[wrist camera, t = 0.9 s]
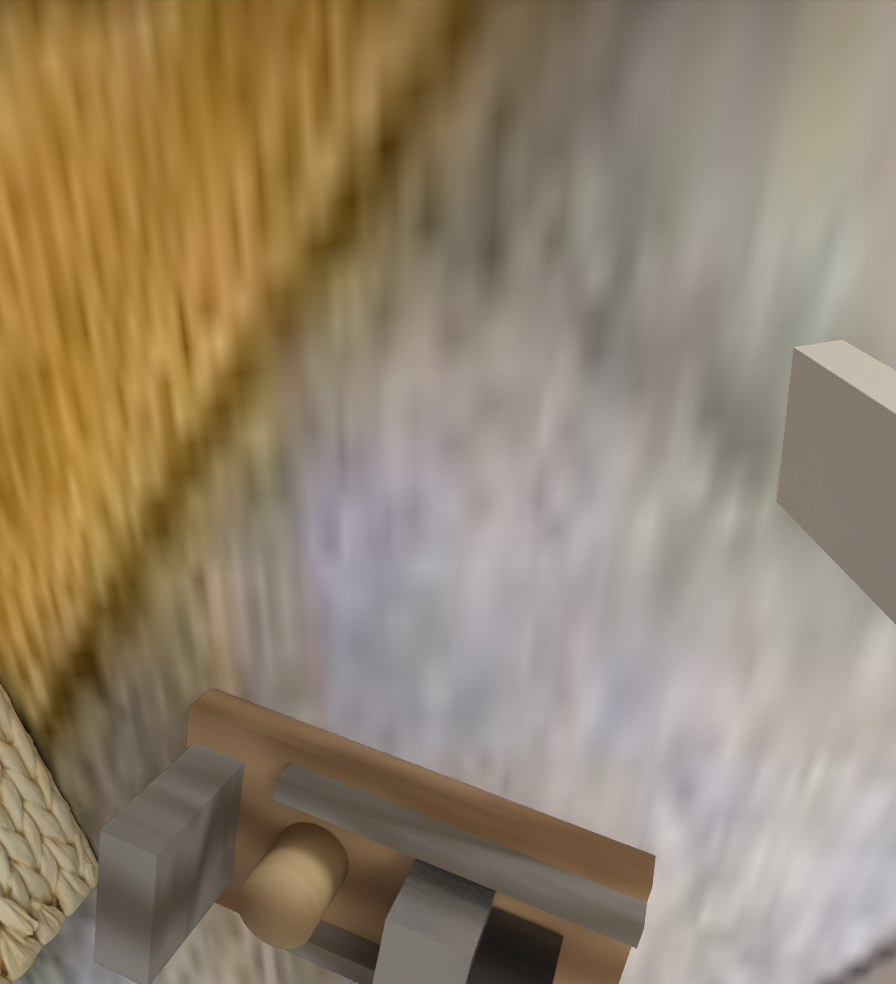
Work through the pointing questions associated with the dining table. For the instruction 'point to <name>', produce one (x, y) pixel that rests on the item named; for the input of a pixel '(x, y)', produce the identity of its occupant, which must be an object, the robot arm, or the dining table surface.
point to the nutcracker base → (346, 848)
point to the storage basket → (35, 851)
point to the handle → (460, 936)
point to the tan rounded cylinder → (293, 885)
